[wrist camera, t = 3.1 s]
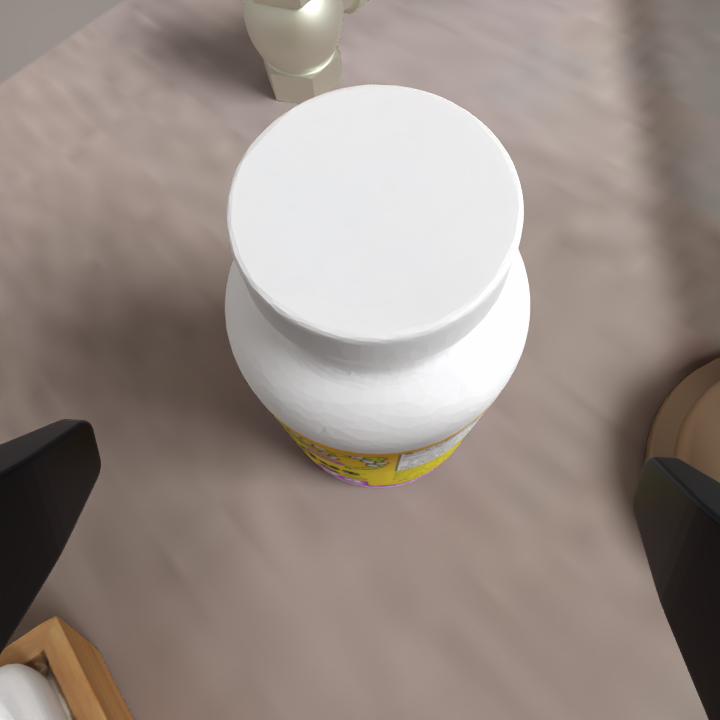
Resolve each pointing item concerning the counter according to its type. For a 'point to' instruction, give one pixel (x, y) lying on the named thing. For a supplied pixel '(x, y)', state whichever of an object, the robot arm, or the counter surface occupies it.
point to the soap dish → (57, 678)
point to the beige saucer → (691, 422)
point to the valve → (299, 43)
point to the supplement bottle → (376, 278)
